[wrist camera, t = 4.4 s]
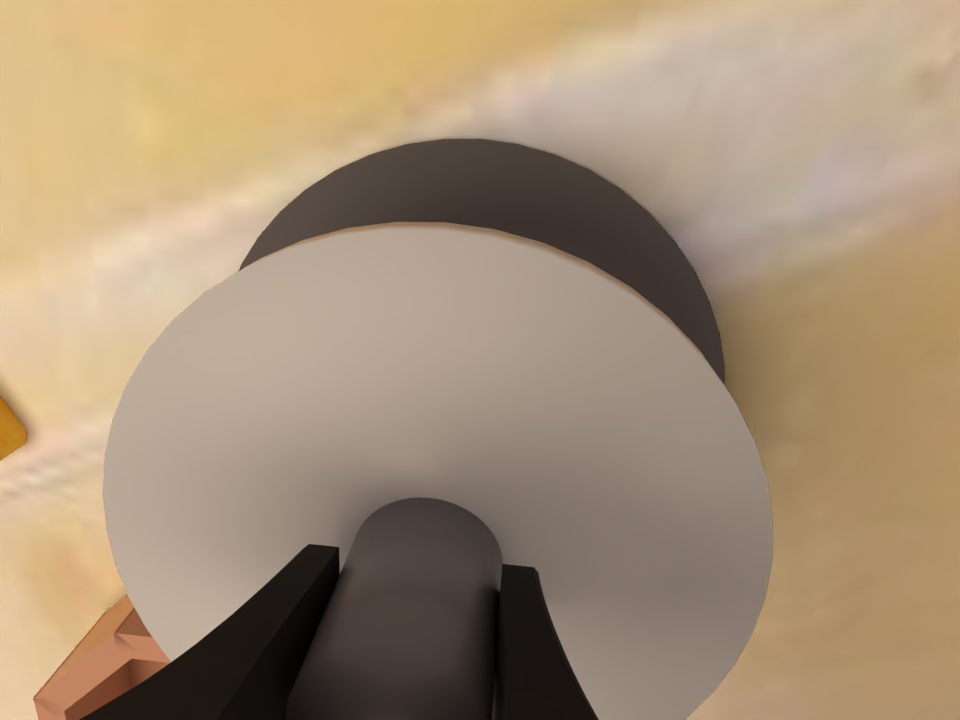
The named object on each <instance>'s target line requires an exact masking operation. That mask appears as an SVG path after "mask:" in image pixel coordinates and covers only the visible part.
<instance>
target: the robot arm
mask: <svg viewBox="0 0 960 720" xmlns="http://www.w3.org/2000/svg"><path fill="white" fill-rule="evenodd" d="M339 575H340V563H339V547H334V546H325V545H315V544H308V545H307V546H306V547H304V548H303V549H302V550H301V551H300V552H299V553H298V554H297V555H296V556H295V557H294V558H293V559H292V560H291V561H290V562H289V563H288V564H286V565H285V566H284V567H283V568H282V569H281V570H280V571H279V572H278V573H277V574H276V575H275V576H274V577H273V578H272V579H271V580H270V581H269V582H267V583H266V584H265V585H264V586H263V587H262V588H261V589H260V590H259V591H258V592H257V593H255V594H254V595H253V596H252V597H251V598H250V599H249V600H248V601H246V602H245V603H244V604H243V605H242V606H241V607H240V608H239V609H237V610H236V611H235V612H234V613H233V614H232V615H231V616H229V617H228V618H227V619H226V620H225V621H223V622H222V623H221V624H220V625H218V626H217V627H216V628H215V629H213V630H212V631H211V632H210V633H208V634H207V635H206V636H205V637H204V638H202V639H201V640H200V641H199V642H197V643H196V644H195V645H194V646H192V647H191V648H190V649H188V650H187V651H186V652H184V653H183V654H182V655H180V656H179V657H178V658H176V659H175V660H173V661H172V662H171V663H169V664H168V665H166V666H165V667H164V668H162V669H161V670H159V671H158V672H156V673H155V674H153V675H152V676H151V677H149V678H148V679H146V680H144V681H143V682H141V683H140V684H138V685H137V686H135V687H133V688H132V689H130V690H128V691H127V692H125V693H123V694H122V695H120V696H118V697H117V698H115V699H113V700H112V701H110V702H108V703H107V704H105V705H103V706H102V707H100V708H98V709H97V710H95V711H93V712H92V713H90V714H88V715H86V716H85V717H83V718H81V719H79V720H286V706H287V701H288V698H289V695H290V693H291V690H292V688H293V685H294V683H295V681H296V678H297V676H298V673H299V671H300V669H301V666H302V664H303V661H304V659H305V657H306V654H307V652H308V649H309V647H310V645H311V642H312V640H313V637H314V635H315V633H316V630H317V628H318V625H319V623H320V621H321V618H322V616H323V613H324V611H325V609H326V606H327V604H328V601H329V599H330V597H331V594H332V592H333V589H334V587H335V585H336V582H337V580H338V577H339ZM491 720H599V719H598V717H597V716H596V714H595V712H594V710H593V708H592V707H591V705H590V703H589V701H588V699H587V697H586V695H585V694H584V692H583V690H582V688H581V686H580V684H579V682H578V680H577V678H576V676H575V674H574V672H573V670H572V667H571V665H570V663H569V661H568V659H567V657H566V654H565V652H564V649H563V647H562V645H561V642H560V640H559V637H558V635H557V633H556V630H555V628H554V625H553V622H552V620H551V617H550V614H549V611H548V608H547V605H546V602H545V598H544V595H543V591H542V587H541V583H540V578H539V572H538V571H537V570H536V569H535V568H534V567H528V566H518V565H509V564H502V574H501V585H500V597H499V609H498V622H497V648H496V667H495V680H494V693H493V706H492V719H491Z"/></svg>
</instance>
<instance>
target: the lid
mask: <svg viewBox="0 0 960 720" xmlns="http://www.w3.org/2000/svg"><path fill="white" fill-rule="evenodd" d="M103 500H104V510H105V519H106V529H107V533H108V537H109V541H110V545H111V549H112V553H113V557H114V561H115V564H116V567H117V569H118V572H119V574H120V577H121V579H122V582H123V584H124V587H125V589H126V592H127V594H128V597H129V599H130V600H131V602H132V604H133V606H134V607H135V609H136V611H137V613H138V615H139V616H140V618H141V620H142V622H143V624H144V625H145V627H146V629H147V630H148V631H149V633H150V634H151V636H152V637H153V638H154V640H155V641H156V642H157V644H158V645H159V647H160V648H161V649H162V651H163V652H164V653H165V655H166V656H167V657H168V659H169V660H170V661H171V662H172V661H173V660H175V659H176V658H178V657H179V656H180V655H182V654H183V653H184V652H186V651H187V650H188V649H190V648H191V647H192V646H194V645H195V644H196V643H197V642H199V641H200V640H201V639H202V638H204V637H205V636H206V635H207V634H208V633H210V632H211V631H212V630H213V629H215V628H216V627H217V626H218V625H220V624H221V623H222V622H223V621H225V620H226V619H227V618H228V617H229V616H231V615H232V614H233V613H234V612H235V611H236V610H237V609H239V608H240V607H241V606H242V605H243V604H244V603H245V602H246V601H248V600H249V599H250V598H251V597H252V596H253V595H254V594H255V593H257V592H258V591H259V590H260V589H261V588H262V587H263V586H264V585H265V584H266V583H267V582H269V581H270V580H271V579H272V578H273V577H274V576H275V575H276V574H277V573H278V572H279V571H280V570H281V569H282V568H283V567H284V566H285V565H286V564H288V563H289V562H290V561H291V560H292V559H293V558H294V557H295V556H296V555H297V554H298V553H299V552H300V551H301V550H302V549H303V548H304V547H306V546H307V545H308V544H315V545H325V546H334V547H339V563H340V575H339V577H338V580H337V582H336V585H335V587H334V589H333V592H332V594H331V597H330V599H329V601H328V604H327V606H326V609H325V611H324V613H323V616H322V618H321V621H320V623H319V625H318V628H317V630H316V633H315V635H314V637H313V640H312V642H311V645H310V647H309V649H308V652H307V654H306V657H305V659H304V661H303V664H302V666H301V669H300V671H299V673H298V676H297V678H296V681H295V683H294V685H293V688H292V690H291V693H290V695H289V698H288V701H287V706H286V720H491V719H492V706H493V693H494V680H495V667H496V648H497V622H498V609H499V597H500V585H501V574H502V564H509V565H518V566H528V567H534V568H535V569H536V570H537V571H538V572H539V578H540V583H541V587H542V591H543V595H544V598H545V602H546V605H547V608H548V611H549V614H550V617H551V620H552V622H553V625H554V628H555V630H556V633H557V635H558V637H559V640H560V642H561V645H562V647H563V649H564V652H565V654H566V657H567V659H568V661H569V663H570V665H571V667H572V670H573V672H574V674H575V676H576V678H577V680H578V682H579V684H580V686H581V688H582V690H583V692H584V694H585V695H586V697H587V699H588V701H589V703H590V705H591V707H592V708H593V710H594V712H595V714H596V716H597V717H598V719H599V720H685V719H686V718H687V717H689V716H690V715H691V714H692V713H693V712H694V711H695V710H696V709H697V708H698V707H699V706H700V705H701V704H702V703H703V702H704V701H705V700H706V699H707V698H708V697H709V696H710V695H711V694H712V693H713V692H714V691H715V690H716V688H717V687H718V686H719V684H720V683H721V682H722V680H723V679H724V678H725V676H726V675H727V674H728V672H729V671H730V670H731V668H732V667H733V666H734V665H735V663H736V661H737V660H738V658H739V656H740V654H741V652H742V651H743V649H744V647H745V645H746V643H747V641H748V640H749V638H750V636H751V634H752V632H753V630H754V627H755V625H756V622H757V619H758V616H759V614H760V611H761V608H762V605H763V603H764V600H765V597H766V592H767V586H768V581H769V576H770V571H771V565H772V556H773V516H772V509H771V502H770V495H769V488H768V482H767V479H766V475H765V472H764V469H763V466H762V462H761V459H760V456H759V453H758V450H757V446H756V443H755V441H754V439H753V437H752V435H751V433H750V431H749V429H748V427H747V425H746V423H745V421H744V419H743V417H742V415H741V413H740V411H739V409H738V407H737V405H736V403H735V401H734V400H733V398H732V397H731V395H730V393H729V392H728V390H727V389H726V387H725V386H724V384H723V383H722V381H721V380H720V379H719V377H718V376H717V374H716V373H715V371H714V370H713V369H712V367H711V366H710V364H709V363H708V361H707V360H706V359H705V357H704V356H703V354H702V353H701V351H700V350H699V349H698V348H697V347H696V346H695V345H694V344H693V343H692V342H691V340H690V339H689V338H688V337H687V336H686V335H685V334H684V333H683V332H682V331H681V330H680V329H679V328H678V327H677V326H676V325H675V324H674V322H673V321H672V320H671V319H670V318H669V317H668V316H667V315H665V314H664V313H663V312H662V311H660V310H659V309H658V308H657V307H655V306H654V305H653V304H651V303H650V302H649V301H648V300H646V299H645V298H644V297H643V296H641V295H640V294H639V293H638V292H636V291H635V290H634V289H633V288H631V287H630V286H628V285H626V284H625V283H623V282H621V281H620V280H618V279H616V278H615V277H613V276H611V275H610V274H608V273H606V272H605V271H603V270H601V269H600V268H598V267H596V266H595V265H593V264H591V263H590V262H587V261H585V260H583V259H580V258H578V257H576V256H573V255H571V254H569V253H566V252H564V251H562V250H559V249H557V248H555V247H552V246H550V245H547V244H545V243H542V242H539V241H535V240H532V239H528V238H525V237H521V236H517V235H514V234H510V233H507V232H503V231H499V230H496V229H489V228H482V227H475V226H468V225H461V224H454V223H447V222H391V223H383V224H375V225H367V226H359V227H351V228H346V229H342V230H338V231H335V232H331V233H327V234H324V235H320V236H316V237H312V238H309V239H305V240H302V241H300V242H297V243H295V244H293V245H290V246H288V247H286V248H283V249H281V250H279V251H276V252H274V253H272V254H269V255H267V256H265V257H262V258H260V259H259V260H257V261H255V262H254V263H252V264H250V265H248V266H247V267H245V268H243V269H242V270H240V271H238V272H237V273H235V274H234V275H232V276H230V277H229V278H227V279H226V280H224V281H222V282H221V283H219V284H217V285H216V286H214V287H213V288H211V289H209V290H208V291H206V292H205V293H204V294H203V295H201V296H200V297H199V298H198V299H197V300H196V301H194V302H193V303H192V304H191V305H190V306H189V307H187V308H186V309H185V310H184V311H183V312H182V313H180V314H179V315H178V316H177V317H176V318H175V319H173V320H172V322H171V323H170V324H169V325H168V326H167V328H166V329H165V330H164V331H163V332H162V334H161V335H160V336H159V337H158V338H157V339H156V341H155V342H154V343H153V344H152V345H151V347H150V348H149V349H148V350H147V351H146V353H145V355H144V356H143V358H142V360H141V361H140V363H139V365H138V366H137V368H136V370H135V371H134V373H133V375H132V376H131V378H130V380H129V381H128V383H127V385H126V387H125V390H124V392H123V395H122V397H121V400H120V402H119V405H118V408H117V410H116V413H115V415H114V418H113V420H112V425H111V429H110V434H109V439H108V444H107V448H106V453H105V460H104V480H103Z"/></svg>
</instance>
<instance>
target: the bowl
mask: <svg viewBox="0 0 960 720" xmlns="http://www.w3.org/2000/svg"><path fill="white" fill-rule="evenodd" d="M169 663H171V661H170V660H169V659H168V657H167V656H166V655H165V653H164V652H163V651H162V649H161V648H160V647H159V645H158V644H157V642H156V641H155V640H154V638H153V637H152V636H151V634H150V633H149V631H148V630H147V629H146V627H145V625H144V624H143V622H142V620H141V618H140V616H139V615H138V613H137V611H136V609H135V607H134V606H133V604H132V602H131V600H130V599H129V597H128V595H126V596H125V597H124V598H123V599H122V600H120V601H119V602H118V603H117V604H116V605H114V606H113V607H112V608H111V609H110V610H108V611H107V612H106V613H104V614H103V615H102V617H101V618H100V619H99V620H98V621H97V622H96V624H95V625H94V626H93V627H92V628H91V630H90V631H89V632H88V633H87V634H86V636H85V637H84V638H83V639H82V640H81V642H80V643H79V644H78V645H77V646H76V648H75V649H74V650H73V651H72V652H71V654H70V655H69V656H68V657H67V658H66V659H65V661H64V662H63V663H62V664H61V665H60V667H59V668H58V669H57V670H56V671H55V673H54V674H53V675H52V676H51V677H50V679H49V680H48V681H47V682H46V683H45V685H44V686H43V687H42V688H41V689H40V690H39V692H38V693H37V694H36V695H35V696H34V698H33V700H34V703H35V707H36V711H37V715H38V719H39V720H79V719H81V718H83V717H85V716H86V715H88V714H90V713H92V712H93V711H95V710H97V709H98V708H100V707H102V706H103V705H105V704H107V703H108V702H110V701H112V700H113V699H115V698H117V697H118V696H120V695H122V694H123V693H125V692H127V691H128V690H130V689H132V688H133V687H135V686H137V685H138V684H140V683H141V682H143V681H144V680H146V679H148V678H149V677H151V676H152V675H153V674H155V673H156V672H158V671H159V670H161V669H162V668H164V667H165V666H166V665H168V664H169Z"/></svg>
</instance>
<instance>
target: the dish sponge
mask: <svg viewBox="0 0 960 720" xmlns="http://www.w3.org/2000/svg"><path fill="white" fill-rule="evenodd" d="M26 440H27V431H26V429H25V428H24V427H23V425H22V424H21V423H20V421H19V420H18V419H17V417H16V416H15V415H14V413H13V412H12V411H11V409H10V408H9V407H8V406H7V404H6V403H5V402H4V400H3V399H2V398H1V396H0V460H2V459H3V458H5V457H6V456H8V455H9V454H11V453H12V452H14V451H15V450H17V449H18V448H20V447H21V446H22V445H24V444H25V443H26Z"/></svg>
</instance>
